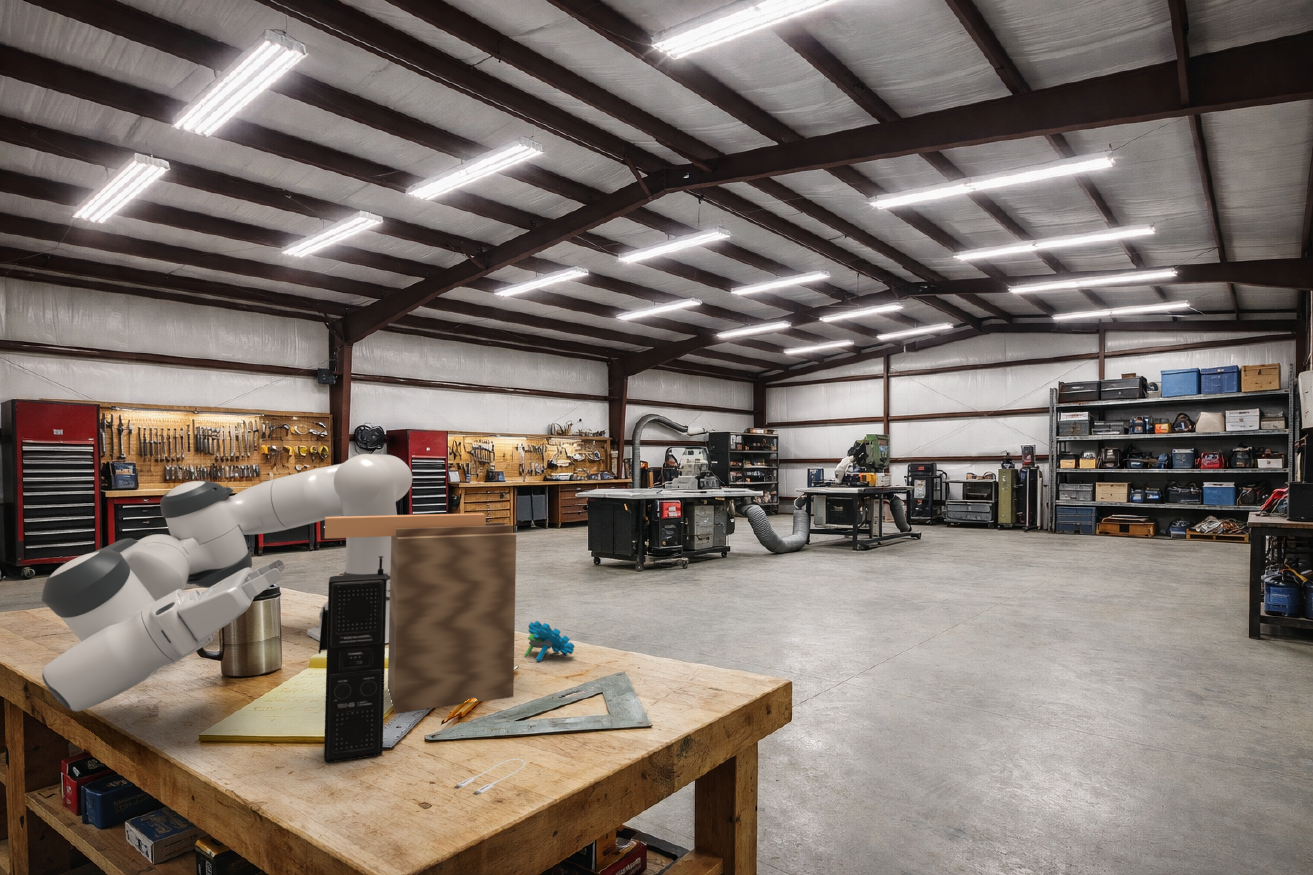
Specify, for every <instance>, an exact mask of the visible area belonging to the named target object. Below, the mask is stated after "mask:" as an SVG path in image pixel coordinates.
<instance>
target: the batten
mask: <svg viewBox="0 0 1313 875" xmlns="http://www.w3.org/2000/svg"><path fill="white" fill-rule="evenodd" d="M486 517H487V515H486V514H485V513H482V512H478V513H445V514H444V513H439V514H437V513H436V514H435V513H434V514H432V513H431V514H397V515H387V516H345V517H343V516H338V517H325V520H324V539H346V538H352V537H381V536H396V529H400V528H432V527H464V526H486V523H487V522H486V521H487V520H486Z"/></svg>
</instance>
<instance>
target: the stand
mask: <svg viewBox="0 0 1313 875" xmlns="http://www.w3.org/2000/svg"><path fill="white" fill-rule="evenodd" d="M516 560H517V534H516V533H513V525H511V524H505V522H501V521H500V522H486V526H464V527H432V528H400V529H396V536H391V570H390V612H389V643H388V654H387V656H388V659H387V660H388V663H387V665H388V666H387V667H388V668H387V690H388V689H389V692H388V694H389V693H390V696H391V699H390V701H391V700H392V703H391V705H392V704H393V707H392V710H393V713H394V714H399V713H407V712H414V711H420V710H421V709H422V710H426V709H425V708H429V709H435V708H442V707H449V706H456V705H462V703H464V702H465V701H467V700H468V699H471V698H473V697H474V698H476V699H477V700H478V702H477V703H479V702H485V701H491V700H493V701H494V700H500V699H506V698H514V691H515V688H514V685H515V683H514V681H515V637H516V636H515V634H516V632H515V631H516V630H515V629H516V627H515V625H516V624H515V622H516V618H515V617H516V576H517V575H516V574H517V572H516V571H517V569H516V568H517V565H516V564H517V562H516ZM390 696H389V697H390ZM422 710H421V711H422Z"/></svg>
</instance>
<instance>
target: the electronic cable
mask: <svg viewBox="0 0 1313 875" xmlns="http://www.w3.org/2000/svg"><path fill="white" fill-rule="evenodd" d="M509 761H521V762H522V763H523V764H522V766H521V767H519V768H518V769H517V770H516V771H514V772H511V773H510V774H507V775H506V776H504V777H502V778H501V779H499V780H495V781H494V782H492V783H487V784H485V785H483V786H481V787H479V788H477V789H476V790H475V792H473V793H472V795H473V796H478V795H481V794H484V793H486V792H487V791H489V790H491V789H493V788H494V786H495V785H496V784H498V783H499V782H501V781H503V780H505V779H507V778H509V777H512V776H513V775H514V774H516V773H517V772H519V771H521V770H522V769H523V768H524V767H525V766H526V762H525V761H524V760H523V759H521V758H511V759H507V760H505V761H504V760H503V761H502V762H499V763H498V764H496V765H495V766H492V767H491V768H489V769H487V770H486V771H485V770H484V772H482V773H480V774H477V775H474V776H473V777H468V778H466V779H464V780H462V781H461V782H458V783H457V784H456V785H455V786H453V789H457V790H458V789H461V788H464V787H466V786H467V785H470V784H472V783H473V782H475V781H476V779H477V778H479V777H480V776H482V775H484V774H487V773H488V772H489V771H491V770H493V769H495V768H496V767H498V766H500V765H502V764H504V763H506V762H509Z"/></svg>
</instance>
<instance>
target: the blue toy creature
mask: <svg viewBox="0 0 1313 875" xmlns="http://www.w3.org/2000/svg"><path fill="white" fill-rule="evenodd" d="M527 630H528V633H529V636H528V637H527V640H529V642H528V644H529V647H528V648H527V650H526V652H525V653H524V656H525V657H529V655H530V653H531V652H532V650H533V649H534V648H535V649H536V648H538V649H540V650H539V653H538V654H537V656H536V657H535V660H536V662H538V663H541V661H542V659H543V658H544V656H545V655H546V653H547V651H548V650H550V649H551V650H552V651H553V652H555V653H557V654H559V652H560V653H561V654H562V655H565V656H567V655H572V654H573V653H574V650H575V649H574V648H575V647H576V646H575V645H574V643H573V642H570V638H569V637H568V636H567V635H563V637H562V636H561V635H560V634H561V630H560V629H557V628H554V629H552V628H551V626H550V624H548V623H541V622H540V621H538V620H535V621H534V622H531V621H530V623H529V624H528V629H527Z"/></svg>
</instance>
